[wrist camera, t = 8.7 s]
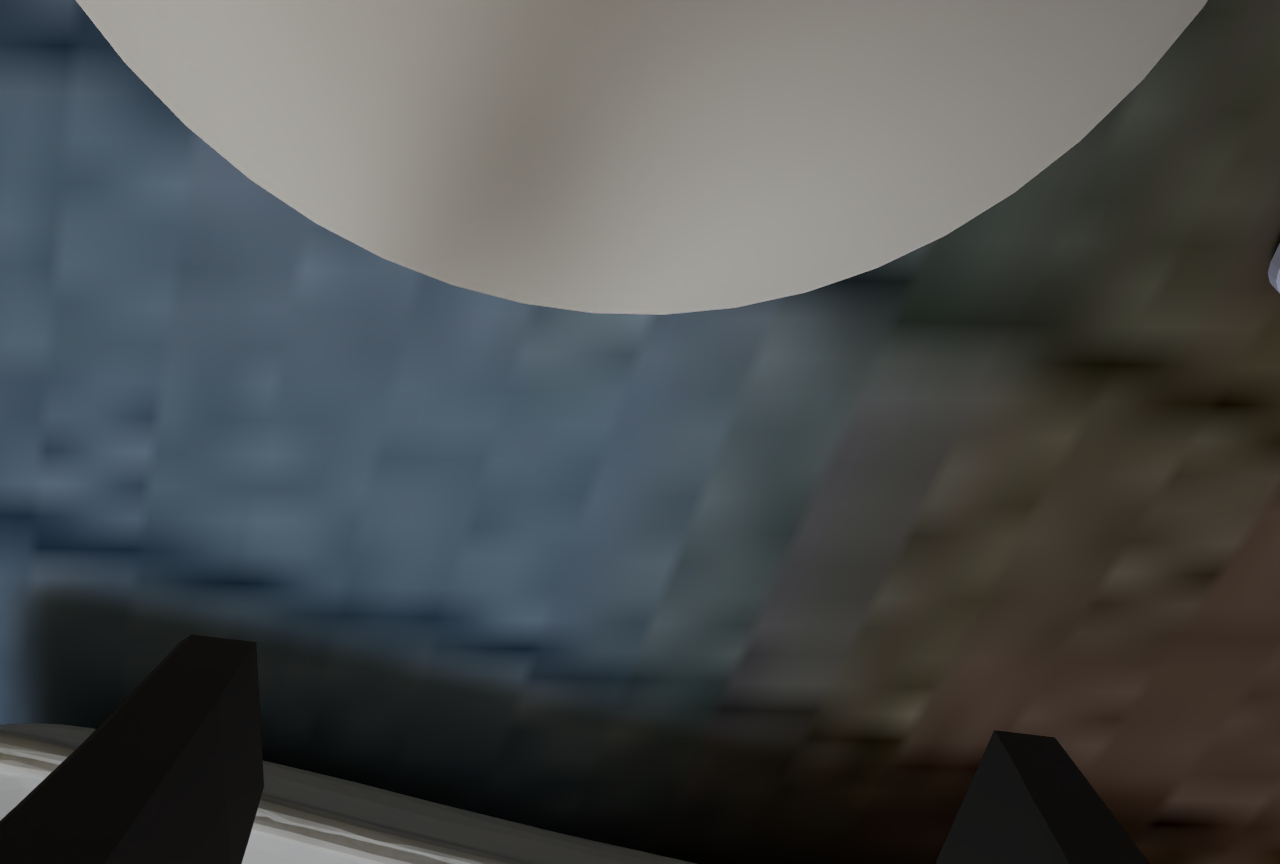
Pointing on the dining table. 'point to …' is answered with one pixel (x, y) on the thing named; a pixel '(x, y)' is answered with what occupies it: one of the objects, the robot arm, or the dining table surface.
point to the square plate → (336, 817)
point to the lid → (641, 127)
